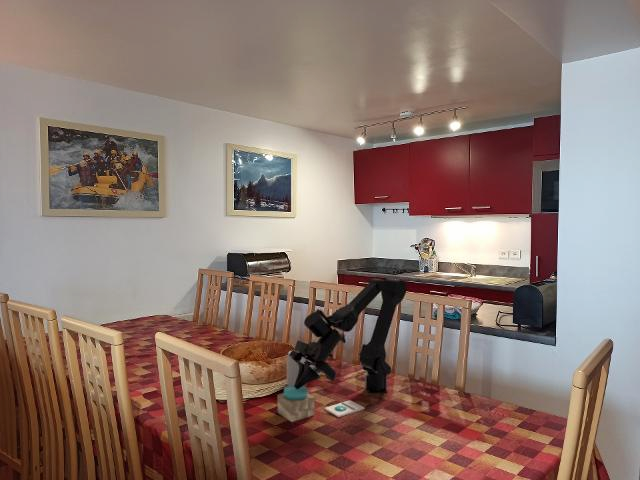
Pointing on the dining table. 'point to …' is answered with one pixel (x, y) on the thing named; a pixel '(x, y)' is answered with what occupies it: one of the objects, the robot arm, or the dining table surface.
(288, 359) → the can
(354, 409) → the pattern card
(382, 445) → the dining table surface
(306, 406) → the marble textured cube
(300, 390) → the button
